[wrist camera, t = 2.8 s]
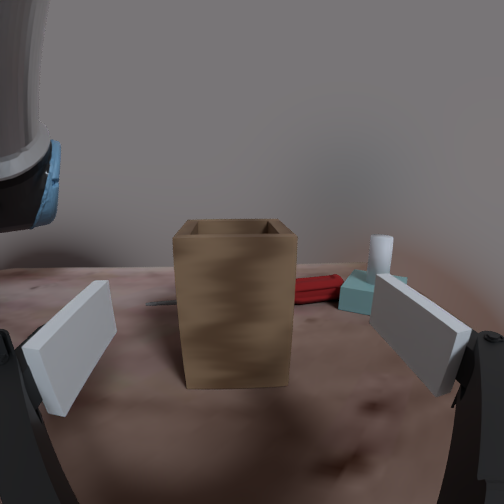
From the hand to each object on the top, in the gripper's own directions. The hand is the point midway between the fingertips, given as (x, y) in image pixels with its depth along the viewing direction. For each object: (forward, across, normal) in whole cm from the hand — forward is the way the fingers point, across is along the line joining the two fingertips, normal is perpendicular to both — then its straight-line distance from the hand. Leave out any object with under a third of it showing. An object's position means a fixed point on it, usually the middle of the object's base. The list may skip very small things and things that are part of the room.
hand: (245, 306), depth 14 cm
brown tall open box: (+10, 0, -10) cm, 14 cm away
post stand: (+21, +18, -10) cm, 30 cm away
